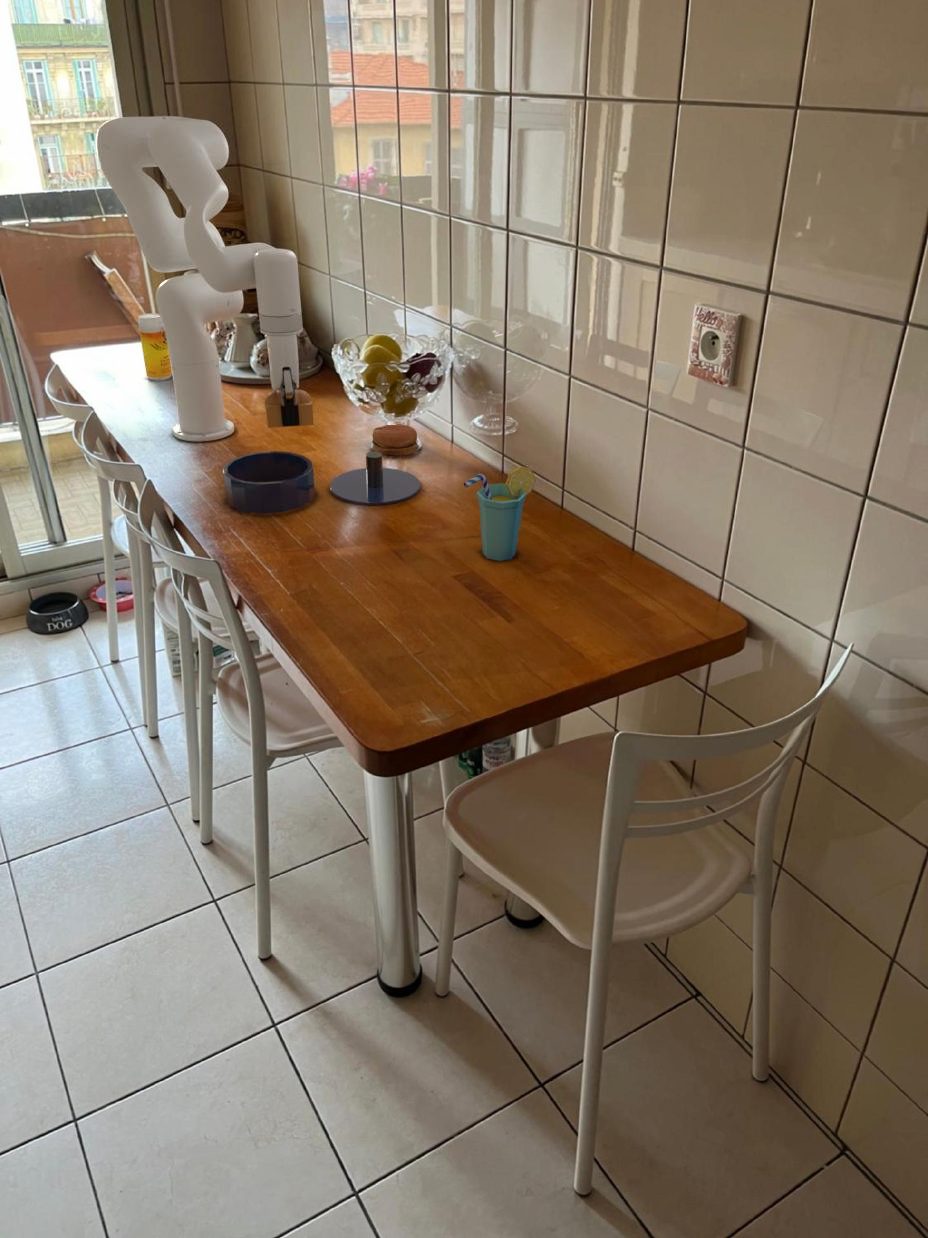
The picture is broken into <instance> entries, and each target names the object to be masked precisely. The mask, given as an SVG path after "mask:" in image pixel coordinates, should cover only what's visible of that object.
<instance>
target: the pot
mask: <svg viewBox="0 0 928 1238" xmlns="http://www.w3.org/2000/svg"><path fill="white" fill-rule="evenodd" d="M222 475H223V483H224V493H225V498H226V503H227V504H228V505H229V506H231V507H232V508H233V509H236V510H238V511H239V512H244V513H252V514H277V513H279V514H280V513H284V512H288V511H293V510H297V509H299V508H302V507H304V506H305V505H307V504H309V503H311V502H312V501H313V499H314V498H315V496H316V488H315V476H314V475H315V474H314V465H313V461H312V460H310V459H309V458H308V457H306V456H304V455H302V454H298V453H294V452H290V451H279V450H272V451H257V452H251V453H247V454H242V455H240V456H238V457H234V458H232V459H230V460H229V461H228V462H227V463H226V464H225V465H223V467H222Z"/></svg>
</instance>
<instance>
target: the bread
mask: <svg viewBox="0 0 928 1238" xmlns="http://www.w3.org/2000/svg"><path fill="white" fill-rule="evenodd" d="M292 392H293V391H292ZM284 394H286V393H285V392H284ZM296 400H297V404H298V410H299V422H300V424H299V426H298V427H302V426H304V427H305V426H314V425H315V424H314V409H313V401H312V398H311V396H310V394H309V393H308V392H307V391H305V390H303V389H296ZM280 405H282V401H281V392H280V391H279V390H276V391H275V390H272V391H271V392H269V393H268V394H267V395H266V397H265V398H264V408H265V415H266V423H267V428H268V429H270V428H272V429H273V428H286V427H287V428H288V427H289V426H286V427H284V426H283V425H282V416H281V406H280Z"/></svg>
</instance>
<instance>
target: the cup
mask: <svg viewBox="0 0 928 1238" xmlns="http://www.w3.org/2000/svg"><path fill="white" fill-rule="evenodd" d="M479 481H481V484H482V485H481V486H482V488H480V489H479V490H478V491H477V492H476V498H477V500H478V505H479V518H480V519H479V521H480V535H481V550H482V554H483V555H484V556H485V557H486V559H488V560H493V561H497V562H500V561H507V560H511V559H512V558H514V556H515V555H516V553H517V548H518V547H517V546H518V541H519V534H520V526H521V519H522V513H523V506H524V502H525V501H526V498H527V495H529V494H531V493H532V491H533V489H534V486H535V484H536V477H535V475H534V472H533V469H531V468H528V467H525V466H521V465H519V466H517V467H516V468H514V469H513V470H511V471H509V473H508V476H507V478H506V481H505V483H503V482H500V483H491V484H489V483H488V480H487V478H486V476H485V475H484V474H481V473H478V474H476V475H475V476H473V477H471V478H469V479H468V480H466V481H464V482H463V485H464V487H465V488H469V487H471V486H472V485H473V484H475V483H478V482H479Z"/></svg>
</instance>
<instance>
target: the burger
mask: <svg viewBox="0 0 928 1238" xmlns="http://www.w3.org/2000/svg"><path fill="white" fill-rule="evenodd" d="M396 424H397V425H388V424H385V425H382V426H377V427H375V428H374V429H373V431H372V441H371V442H372V450H373V452H380V453H382V456H389V455H390V456H409V455H412V454H414V453H416V452H417V451H418V449H419V444H418V442H417V441H418V433H417V430H416V429H415V428H414V427H412V426H410V425H407V424H402V423H396Z"/></svg>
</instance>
